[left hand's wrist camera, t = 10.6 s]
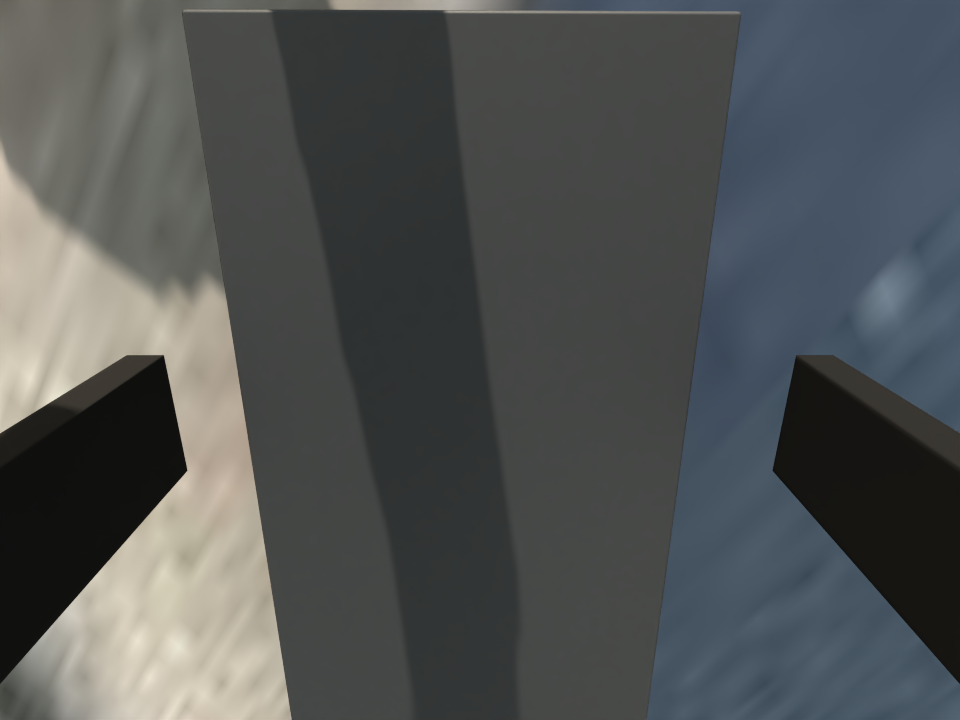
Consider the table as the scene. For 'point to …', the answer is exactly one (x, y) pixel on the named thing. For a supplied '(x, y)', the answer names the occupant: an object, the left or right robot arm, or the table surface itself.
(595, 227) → the thick board
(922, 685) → the table surface
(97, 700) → the table surface
